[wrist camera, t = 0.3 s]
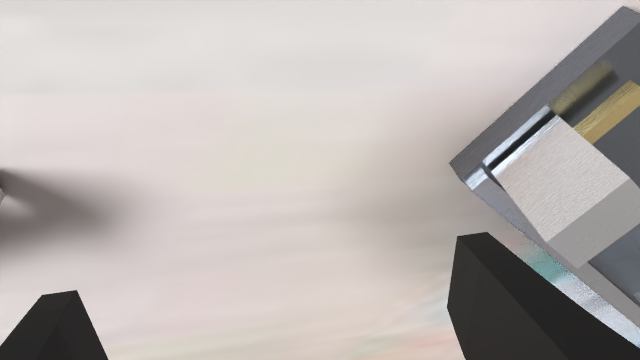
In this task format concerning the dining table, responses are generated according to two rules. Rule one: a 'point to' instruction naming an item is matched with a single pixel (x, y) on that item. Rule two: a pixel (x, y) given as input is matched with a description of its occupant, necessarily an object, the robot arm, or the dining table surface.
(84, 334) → the robot arm
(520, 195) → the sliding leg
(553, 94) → the gauge plate
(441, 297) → the dining table surface
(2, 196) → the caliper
